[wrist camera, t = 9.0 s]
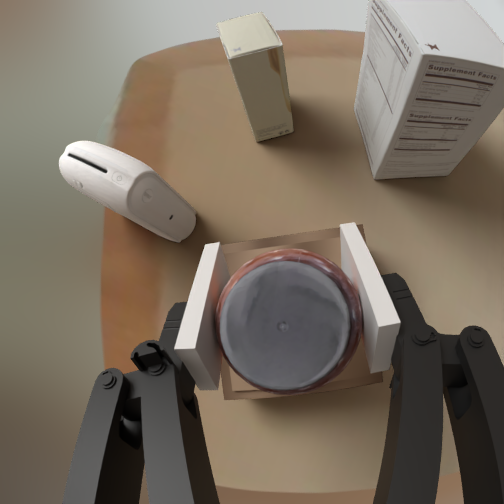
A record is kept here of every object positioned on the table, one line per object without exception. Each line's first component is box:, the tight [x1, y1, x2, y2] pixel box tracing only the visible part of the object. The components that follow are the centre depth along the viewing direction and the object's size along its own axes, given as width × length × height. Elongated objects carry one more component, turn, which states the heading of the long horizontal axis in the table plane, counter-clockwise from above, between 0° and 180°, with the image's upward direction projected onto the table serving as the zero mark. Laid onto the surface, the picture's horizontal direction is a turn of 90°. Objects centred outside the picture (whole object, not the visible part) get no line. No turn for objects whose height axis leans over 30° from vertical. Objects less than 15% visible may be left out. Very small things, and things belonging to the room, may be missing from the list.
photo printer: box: [59, 141, 196, 243], centre depth 24 cm, size 10×4×12 cm, turn 62°
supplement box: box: [354, 0, 504, 179], centre depth 19 cm, size 10×9×17 cm
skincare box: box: [216, 12, 294, 142], centre depth 25 cm, size 6×4×12 cm
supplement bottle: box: [215, 248, 363, 395], centre depth 14 cm, size 6×6×11 cm
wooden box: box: [221, 224, 383, 400], centre depth 23 cm, size 12×12×5 cm
